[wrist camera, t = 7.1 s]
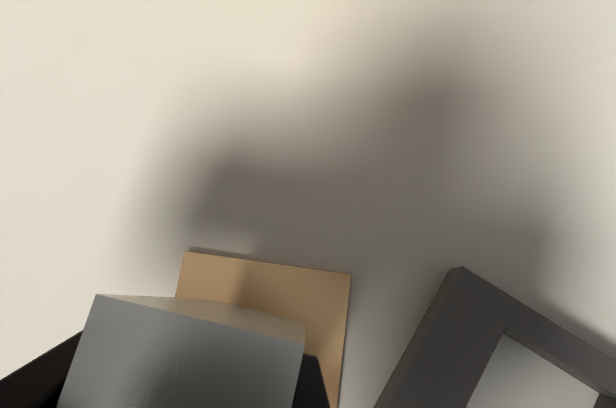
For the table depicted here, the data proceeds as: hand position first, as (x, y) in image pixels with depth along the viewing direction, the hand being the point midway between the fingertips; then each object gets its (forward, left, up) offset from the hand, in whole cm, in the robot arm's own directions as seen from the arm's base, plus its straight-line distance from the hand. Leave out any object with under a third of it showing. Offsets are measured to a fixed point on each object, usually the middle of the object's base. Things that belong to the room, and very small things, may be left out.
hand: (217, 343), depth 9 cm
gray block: (-1, 0, -7) cm, 7 cm away
